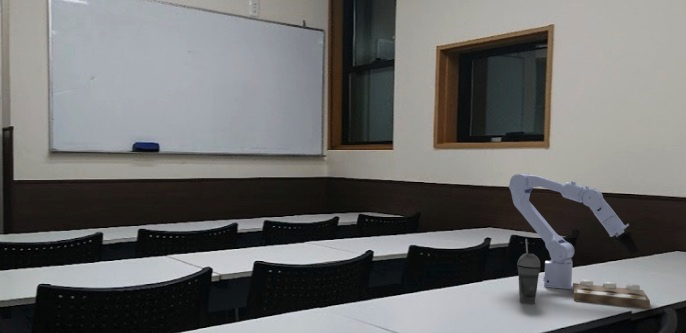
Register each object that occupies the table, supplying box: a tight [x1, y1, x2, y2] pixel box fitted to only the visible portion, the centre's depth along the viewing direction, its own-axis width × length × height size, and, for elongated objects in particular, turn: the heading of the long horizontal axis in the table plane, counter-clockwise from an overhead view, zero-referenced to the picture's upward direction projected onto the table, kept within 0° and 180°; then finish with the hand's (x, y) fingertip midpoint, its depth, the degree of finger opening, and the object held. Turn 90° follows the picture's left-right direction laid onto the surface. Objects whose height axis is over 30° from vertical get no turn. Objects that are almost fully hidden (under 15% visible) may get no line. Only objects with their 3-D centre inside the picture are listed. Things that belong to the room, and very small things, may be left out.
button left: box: [579, 278, 594, 287], centre depth 200 cm, size 4×4×2 cm
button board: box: [572, 282, 651, 310], centre depth 197 cm, size 22×16×3 cm
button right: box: [625, 283, 641, 292], centre depth 195 cm, size 4×4×2 cm
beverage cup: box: [516, 238, 542, 305], centre depth 189 cm, size 7×7×20 cm
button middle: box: [602, 281, 617, 289], centre depth 197 cm, size 4×4×2 cm
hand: (635, 253), depth 199 cm, fingers open, 7 cm apart
